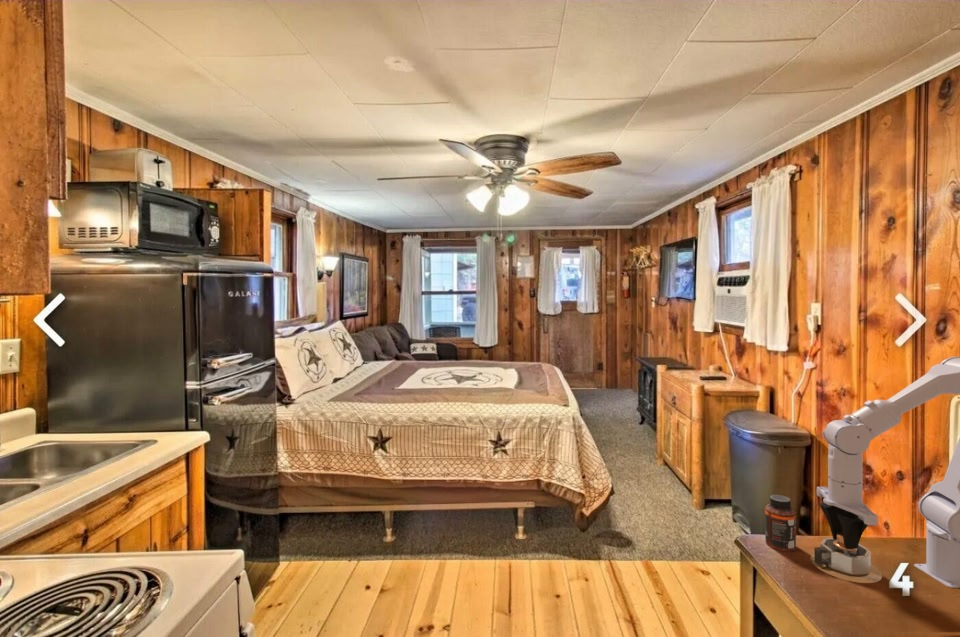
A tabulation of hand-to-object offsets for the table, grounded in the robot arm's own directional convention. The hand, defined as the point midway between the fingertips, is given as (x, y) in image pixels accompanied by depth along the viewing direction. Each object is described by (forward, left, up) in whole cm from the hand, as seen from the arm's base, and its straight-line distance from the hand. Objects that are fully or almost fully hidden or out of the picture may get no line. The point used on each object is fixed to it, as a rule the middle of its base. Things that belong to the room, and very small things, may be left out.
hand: (844, 543), depth 101 cm
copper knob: (0, 0, -4) cm, 4 cm away
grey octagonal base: (0, 0, -5) cm, 5 cm away
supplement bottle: (+8, -9, -6) cm, 13 cm away
